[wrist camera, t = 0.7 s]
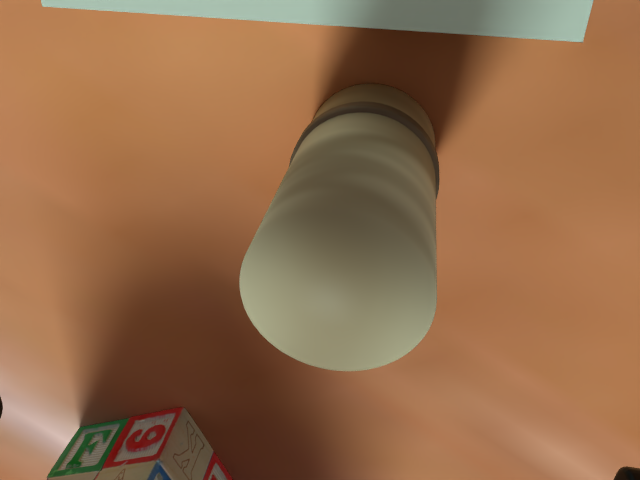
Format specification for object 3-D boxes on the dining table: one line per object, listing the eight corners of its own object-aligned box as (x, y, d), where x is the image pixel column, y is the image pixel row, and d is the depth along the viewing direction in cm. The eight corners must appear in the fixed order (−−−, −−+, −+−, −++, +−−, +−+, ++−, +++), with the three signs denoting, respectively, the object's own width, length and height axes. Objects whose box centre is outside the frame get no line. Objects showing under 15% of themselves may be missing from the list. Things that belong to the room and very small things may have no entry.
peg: (447, 85, 17) (457, 217, 11) (429, 211, 20) (427, 386, 13) (306, 74, 18) (229, 193, 11) (304, 198, 20) (238, 360, 13)
